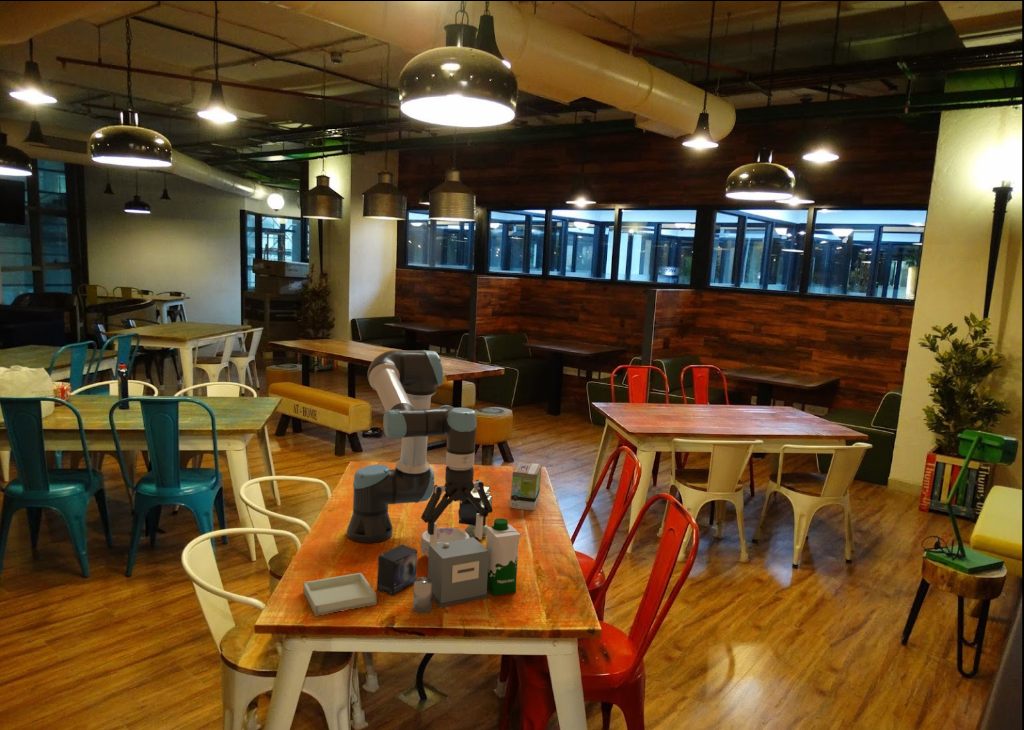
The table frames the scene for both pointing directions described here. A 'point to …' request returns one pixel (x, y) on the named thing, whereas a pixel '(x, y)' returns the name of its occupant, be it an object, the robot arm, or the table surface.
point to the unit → (458, 571)
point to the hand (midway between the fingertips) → (456, 541)
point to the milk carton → (502, 557)
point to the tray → (339, 593)
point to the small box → (396, 569)
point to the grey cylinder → (422, 595)
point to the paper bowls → (442, 537)
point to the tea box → (525, 486)
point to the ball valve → (472, 512)
